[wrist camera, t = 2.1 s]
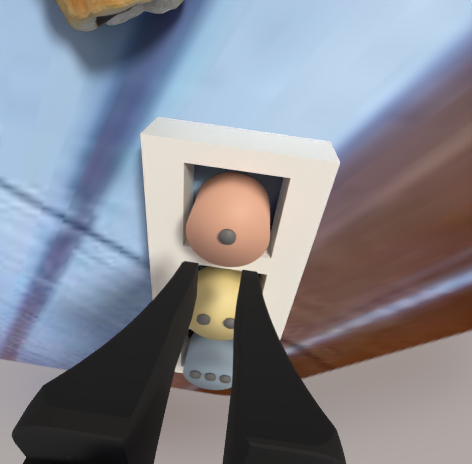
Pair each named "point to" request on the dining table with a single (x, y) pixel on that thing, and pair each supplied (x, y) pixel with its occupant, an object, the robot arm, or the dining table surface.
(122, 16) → the pastry
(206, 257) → the terracotta button
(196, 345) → the slate button
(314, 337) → the dining table surface
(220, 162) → the button panel
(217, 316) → the mustard button
